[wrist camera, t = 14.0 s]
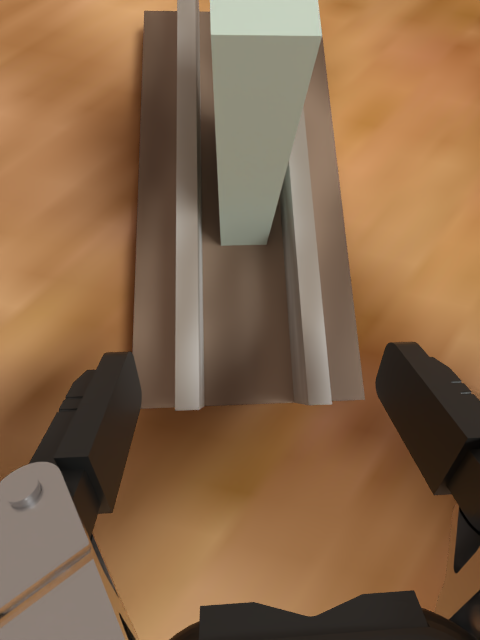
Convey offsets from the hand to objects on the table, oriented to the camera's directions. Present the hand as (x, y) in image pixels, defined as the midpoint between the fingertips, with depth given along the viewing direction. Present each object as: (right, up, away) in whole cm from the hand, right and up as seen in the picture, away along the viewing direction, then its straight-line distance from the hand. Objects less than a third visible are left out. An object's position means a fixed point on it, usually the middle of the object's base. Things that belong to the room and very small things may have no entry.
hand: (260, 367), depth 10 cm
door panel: (-1, +10, +9) cm, 13 cm away
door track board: (-1, +10, +10) cm, 14 cm away
